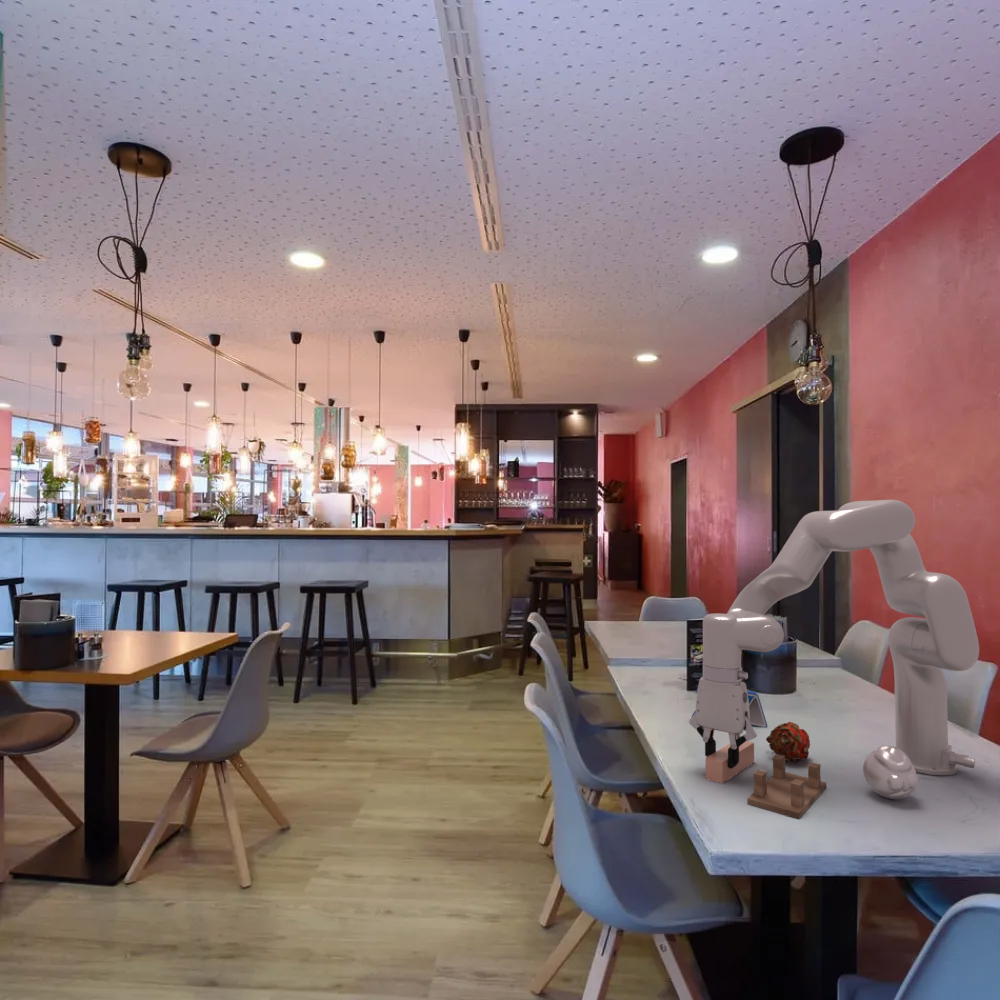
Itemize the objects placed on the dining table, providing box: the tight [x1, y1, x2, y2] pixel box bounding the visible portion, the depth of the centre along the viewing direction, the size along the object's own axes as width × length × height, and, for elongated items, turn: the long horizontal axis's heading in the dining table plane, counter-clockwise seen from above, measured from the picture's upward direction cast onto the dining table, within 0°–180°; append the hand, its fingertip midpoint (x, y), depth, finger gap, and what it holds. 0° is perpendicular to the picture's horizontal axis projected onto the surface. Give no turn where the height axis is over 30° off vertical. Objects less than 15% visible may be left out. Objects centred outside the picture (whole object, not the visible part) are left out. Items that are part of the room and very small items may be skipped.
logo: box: [691, 687, 768, 728], centre depth 164 cm, size 18×2×10 cm, turn 79°
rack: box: [746, 753, 827, 820], centre depth 120 cm, size 18×9×5 cm, turn 139°
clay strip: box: [705, 740, 755, 784], centre depth 132 cm, size 16×4×4 cm, turn 136°
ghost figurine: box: [862, 744, 920, 800], centre depth 119 cm, size 9×10×10 cm
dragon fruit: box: [765, 721, 811, 763], centre depth 139 cm, size 8×8×12 cm
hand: (721, 762), depth 129 cm, fingers open, 3 cm apart
